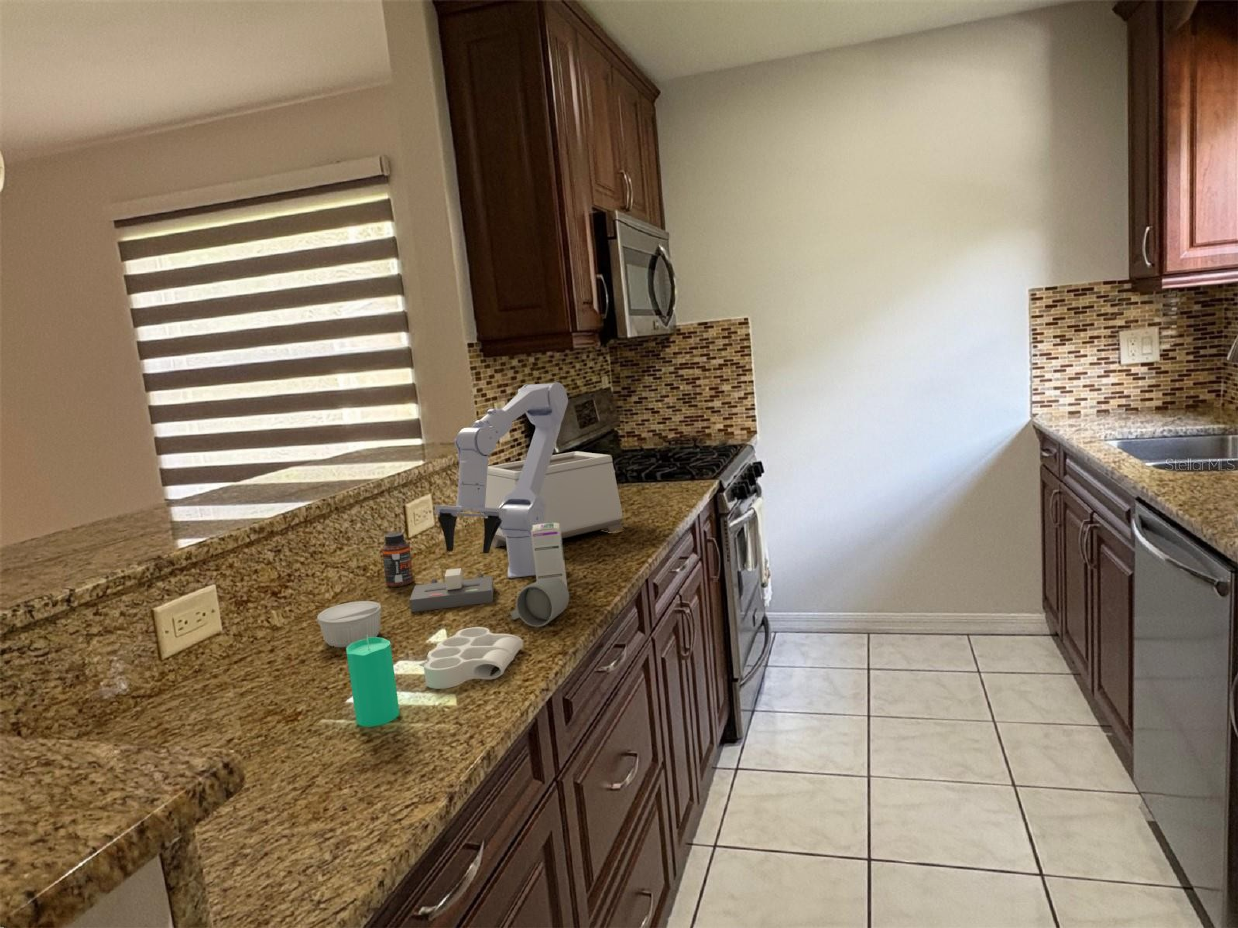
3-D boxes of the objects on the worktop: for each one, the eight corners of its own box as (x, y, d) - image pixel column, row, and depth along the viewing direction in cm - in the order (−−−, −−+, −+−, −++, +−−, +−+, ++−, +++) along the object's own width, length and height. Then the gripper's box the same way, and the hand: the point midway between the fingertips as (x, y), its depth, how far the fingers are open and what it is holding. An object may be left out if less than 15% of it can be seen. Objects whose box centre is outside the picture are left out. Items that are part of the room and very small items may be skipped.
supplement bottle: (406, 587, 173) (399, 537, 172) (381, 588, 175) (374, 538, 173) (418, 579, 179) (412, 530, 178) (394, 579, 181) (387, 531, 179)
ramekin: (358, 652, 137) (354, 622, 136) (306, 648, 141) (302, 620, 140) (397, 628, 147) (393, 601, 147) (348, 626, 151) (344, 599, 151)
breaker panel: (494, 576, 176) (493, 564, 176) (492, 602, 158) (491, 589, 158) (421, 584, 174) (419, 573, 174) (410, 612, 156) (409, 599, 156)
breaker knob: (462, 581, 164) (461, 568, 164) (461, 588, 159) (459, 574, 159) (448, 582, 164) (446, 569, 163) (446, 589, 159) (444, 576, 158)
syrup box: (567, 599, 156) (560, 527, 154) (537, 602, 155) (530, 530, 153) (567, 590, 161) (560, 521, 159) (538, 593, 161) (531, 523, 159)
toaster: (635, 529, 210) (628, 452, 207) (521, 557, 191) (512, 473, 188) (594, 519, 226) (588, 448, 223) (485, 545, 207) (477, 467, 203)
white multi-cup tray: (496, 690, 117) (403, 691, 120) (529, 644, 135) (447, 646, 137) (493, 669, 117) (400, 670, 119) (527, 625, 134) (445, 627, 137)
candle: (361, 709, 114) (350, 629, 112) (403, 704, 114) (393, 625, 112) (350, 729, 108) (338, 645, 106) (395, 723, 108) (384, 640, 106)
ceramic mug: (574, 612, 148) (569, 572, 147) (555, 628, 140) (550, 586, 139) (523, 611, 152) (518, 572, 150) (502, 626, 144) (497, 585, 143)
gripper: (431, 482, 159) (426, 550, 158) (501, 486, 158) (497, 554, 157) (443, 484, 166) (438, 549, 165) (510, 487, 165) (506, 553, 164)
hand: (467, 552), depth 161 cm, fingers open, 7 cm apart
